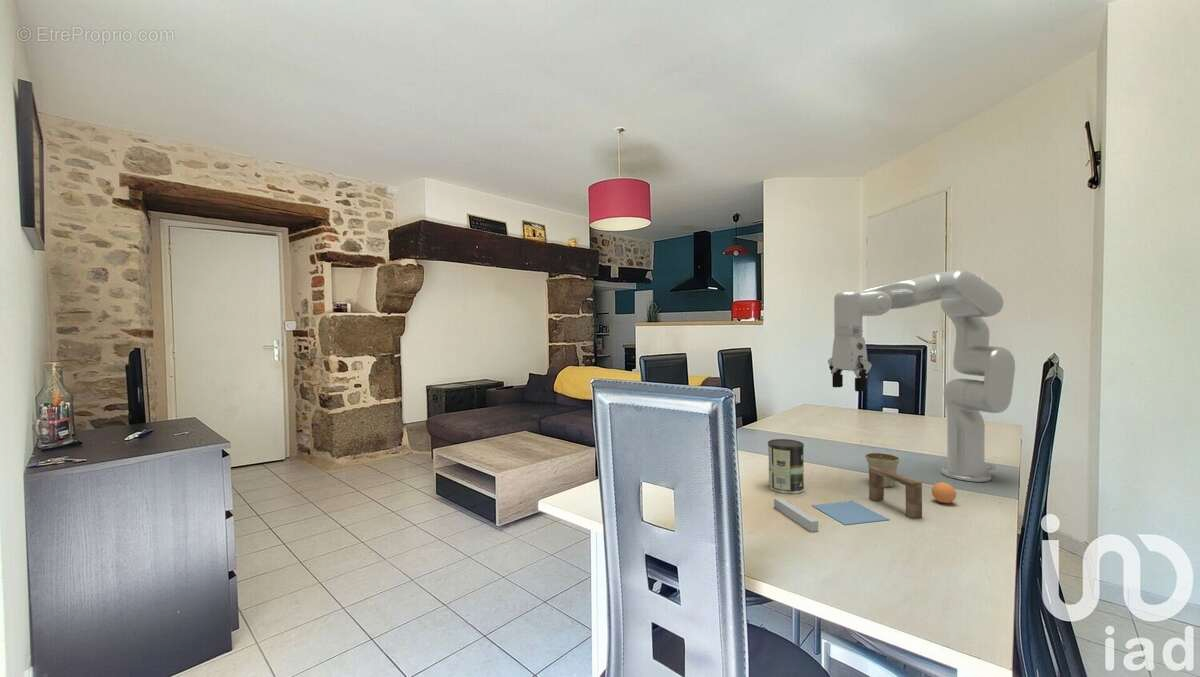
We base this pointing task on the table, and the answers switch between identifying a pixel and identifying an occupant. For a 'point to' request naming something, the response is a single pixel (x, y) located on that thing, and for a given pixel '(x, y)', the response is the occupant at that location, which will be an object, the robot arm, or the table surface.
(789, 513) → the wall
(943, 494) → the ball
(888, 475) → the bridge
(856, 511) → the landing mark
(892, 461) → the flower pot
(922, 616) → the table surface
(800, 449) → the coffee can
